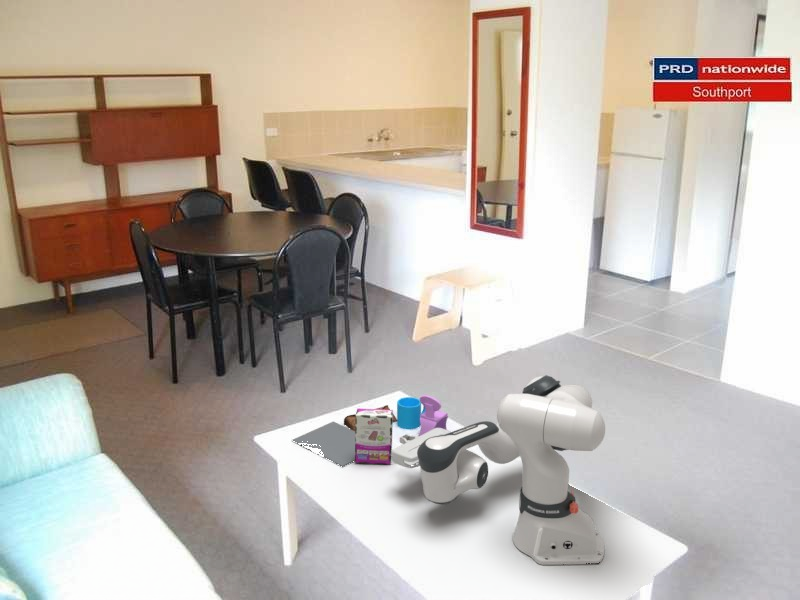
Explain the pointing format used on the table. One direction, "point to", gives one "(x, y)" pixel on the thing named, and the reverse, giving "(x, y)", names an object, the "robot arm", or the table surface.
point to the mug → (409, 413)
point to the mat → (332, 442)
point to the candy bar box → (373, 436)
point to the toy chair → (431, 415)
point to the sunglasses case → (350, 419)
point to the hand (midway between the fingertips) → (402, 437)
